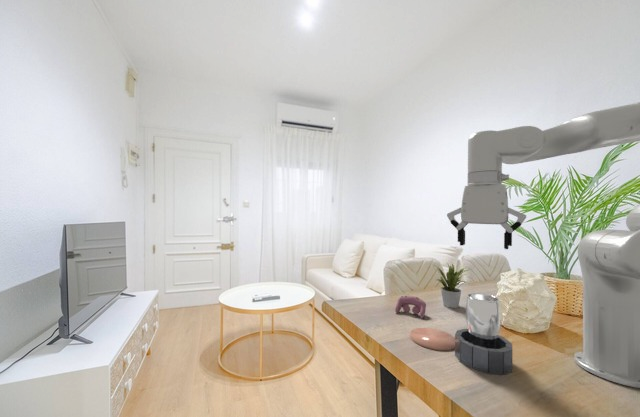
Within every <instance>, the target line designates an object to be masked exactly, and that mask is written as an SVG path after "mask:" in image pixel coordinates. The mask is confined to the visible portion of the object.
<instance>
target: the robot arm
mask: <svg viewBox="0 0 640 417" xmlns="http://www.w3.org/2000/svg"><path fill="white" fill-rule="evenodd" d="M636 142H640V101H639V102H635V103H629V104H625V105H620V106H617V107H610V108H606V109H601V110H596V111H592V112H587V113H585V114H582V115H578V116H577V117H574V118H572V119H570V120H567V121H565V122H562V123H560V124H559V125H556V126H553V127H550V128H548V129H544V130H542V129H541V128H539V127H537V126H533V125H523V126H517V127H512V128H507V129H503V130H481V131H476V132H475V133H472V134H471V135H470V136H469V137H468V141H467V185H465V186H464V187H463V188H464V189H463V193H462V200H461V206H460V207H459V208H456V209H454V210H452V211H449V212H448V213H447V214H446V216H447V218H448V220H449V222H450V224H451V225H452V226H453V227H454V228H455V229H456V230H457V243H459V246H465V245H466V230H465V228H466V226H468V224H473V225H474V224H475V225H476V224H477V225H500V226H501V227H502V228H504V230H505V232H504V234H503V248H504V250H509V247H510V246H511V247H512V246H513V244H512V243H513V233H514V232H515V231H516V230H517V229H518V228H520V227H522V226H521V225H523V223H524V222H525V220H526V219H527V214H524V213H522V212H520V211H518V210H516V209H513V208H511V207H509V200H508V199H509V197H508V191H507V187H506V185H505V184H503V182H504V181H509V180H510V174H506V173H505V174H504V173H503V164H505V165H518V164H523V163H528V162H535V161H540V160H544V159H551V158H556V157H561V156H566V155H572V154H577V153H583V152H586V151H591V150H596V149H603V148H607V147H612V146H618V145H619V146H620V145H625V144H630V143H636ZM459 214H460V220H461V221H460V223H459V222H458V221H457V220H456V217H455V216H457V215H459ZM509 215H511V216H514V217H517V219H516V221H515V222H514V223H513V224H512V225H510V224H509V223H508V221H509ZM625 224H626V227H627V229H628V230H624V229H598V230H594V231H592V232H589V233H587V234H586V235H584V236H583V237H582V238H581V239H580V241H579V243H578V246H577V257H578V262H579V266H580V270H581V276H582V336H583V337H582V345H583V348H582V349H583V351H578V352H576V353H574V356H573V357H574V358H573V360H574V362H575V363H576V364H577V365H578V366H579V367H580V368H582V369H584V370H585V371H587V372H588V373H590V374H593V375H595V376H597V377H599V378H602V379H604V380H607V381H610V382H613V383H615V384H619V385H623V386H627V387H631V388H636V389H640V203H639V204H637V205H636V206H635V207H633V209H631V210H630V211H629V213H628V214H627V216H626V218H625Z"/></svg>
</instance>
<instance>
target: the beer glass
mask: <svg viewBox="0 0 640 417" xmlns="http://www.w3.org/2000/svg"><path fill="white" fill-rule="evenodd" d="M465 318H466V319H465V320H466V325H467V329H468V332H469V337H470V343H472V344H474V345H477V346H480V347H484V348H490V349H496V343H497V338H498V335H499V332H500V328H501V327H500V326H501V309H500V298H498V297H496V296H493V295H491V294H487V293H482V292H481V293H479V292H469V293H467V294H466V306H465Z"/></svg>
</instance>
